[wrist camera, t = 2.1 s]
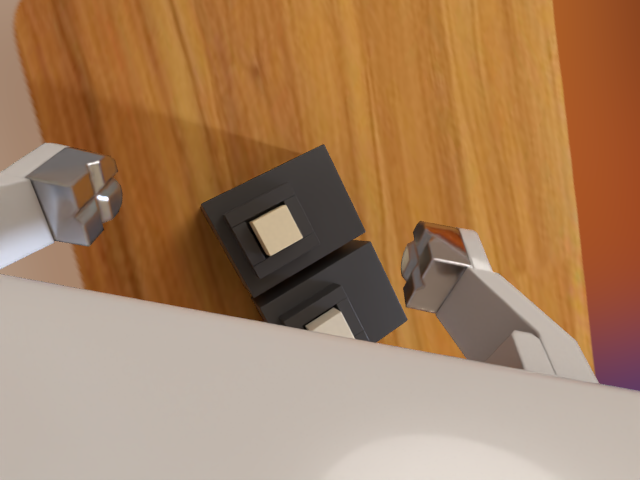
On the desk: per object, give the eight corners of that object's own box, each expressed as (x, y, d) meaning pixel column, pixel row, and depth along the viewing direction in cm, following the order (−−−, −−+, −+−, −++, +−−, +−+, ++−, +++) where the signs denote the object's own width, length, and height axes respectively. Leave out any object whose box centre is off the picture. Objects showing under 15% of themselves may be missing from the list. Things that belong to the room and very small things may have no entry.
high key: (266, 254, 30) (270, 256, 28) (248, 222, 29) (251, 222, 27) (297, 237, 30) (303, 237, 29) (280, 205, 30) (285, 204, 28)
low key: (320, 354, 31) (327, 361, 30) (304, 325, 31) (311, 331, 29) (348, 335, 32) (356, 341, 31) (333, 307, 32) (341, 311, 30)
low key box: (291, 370, 37) (313, 400, 31) (250, 297, 36) (263, 313, 29) (382, 308, 41) (418, 324, 34) (348, 239, 39) (379, 241, 32)
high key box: (245, 288, 36) (257, 302, 29) (199, 207, 34) (201, 202, 27) (344, 231, 39) (375, 232, 32) (307, 154, 37) (331, 139, 31)
